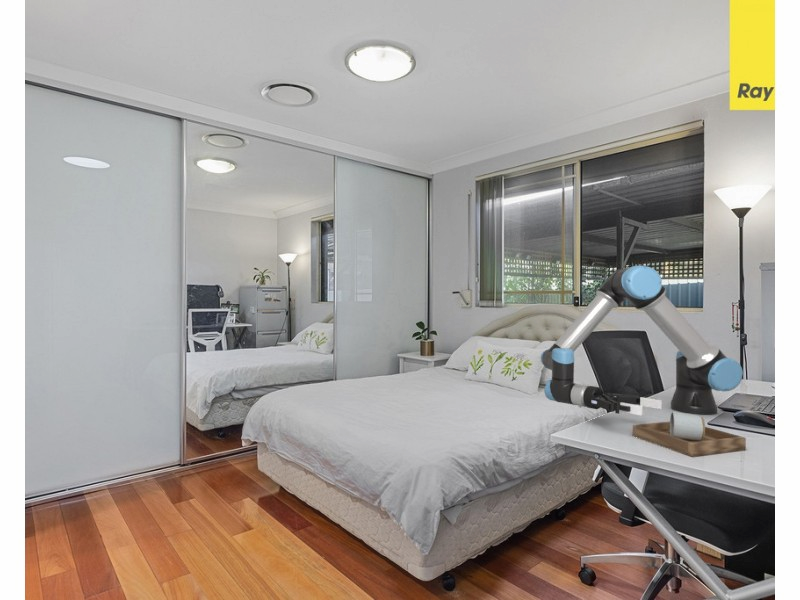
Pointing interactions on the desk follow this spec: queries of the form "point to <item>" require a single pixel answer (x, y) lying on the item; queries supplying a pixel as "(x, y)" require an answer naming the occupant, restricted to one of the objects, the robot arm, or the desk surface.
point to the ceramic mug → (687, 426)
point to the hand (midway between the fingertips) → (652, 407)
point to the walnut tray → (708, 446)
